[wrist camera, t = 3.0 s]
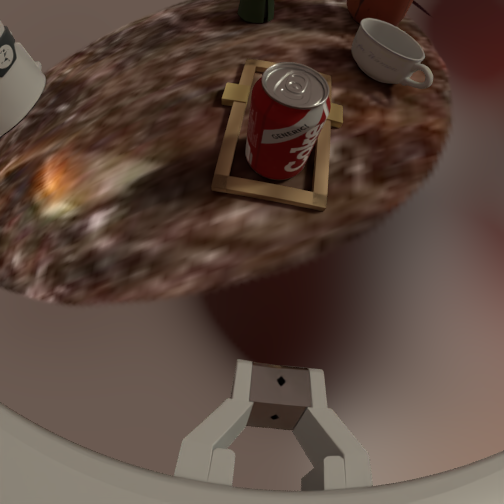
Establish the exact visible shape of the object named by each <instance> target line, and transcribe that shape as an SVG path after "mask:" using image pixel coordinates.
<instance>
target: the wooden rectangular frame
mask: <svg viewBox="0 0 504 504" xmlns="http://www.w3.org/2000/svg"><path fill="white" fill-rule="evenodd" d="M274 64H277V63H273V62H267V61H261V60H255V59H248V58H247V60H246V63H245V66H244V69H243V72H242V76H241V79H240V82H239V84H234V83H227V84H226V87H225V90H224V93H223V96H222V105H228V106H232V110H231V113H230V117H229V120H228V124H227V128H226V131H225V135H224V139H223V142H222V146H221V150H220V154H219V158H218V161H217V165H216V169H215V173H214V177H213V181H212V185H211V188H212V191H218V192H224V193H230V194H236V195H242V196H247V197H253V198H258V199H264V200H269V201H274V202H279V203H284V204H290V205H295V206H299V207H304V208H309V209H314V210H319V211H324V210H325V209H326V202H327V188H328V173H329V154H330V130H331V126H333V127H337V128H340V127H341V125H342V123H343V106H340V105H337V104H333V103H331V75H327V74H323V73H320V74H321V75H322V76H323V77H324V78H325V80H326V81H327V83H328V85H329V98H330V103H331V109H330V112H329V115H328V117H327V119H326V121H325V123H324V126H323V128H322V130H321V132H320V134H319V136H318V138H317V140H316V145H315V158H314V170H313V181H312V192H310V191H305V190H301V189H296V188H291V187H286V186H281V185H276V184H271V183H265V182H260V181H255V180H249V179H243V178H238V177H232V176H230V172H231V167H232V163H233V159H234V154H235V150H236V146H237V142H238V137H239V133H240V129H241V125H242V121H243V117H244V113H245V109H246V105H247V101H248V97H249V93H250V89H251V85H252V82H253V78H254V74H255V71H258V72H264V71H265V70H266V69H267V68H268V67H270V66H272V65H274Z"/></svg>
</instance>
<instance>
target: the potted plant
mask: <svg viewBox="0 0 504 504" xmlns="http://www.w3.org/2000/svg"><path fill="white" fill-rule="evenodd" d="M412 2H413V0H347V7H348V10H349V13H350V15H351V16H352V17H353V19H354V20H355V21H356V22H357V23H359V24H360V22H361V20H363V19H366V18H372V19H377V20H381V21H384V22H387V23H389V24H392V25H394V26H395V27H396V26H397V25H398V24H399V22H400V21H401V20H402V19H403V18H404V16H405V14H406V13H407V11H408V9H409V7H410V5H411V4H412Z"/></svg>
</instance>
